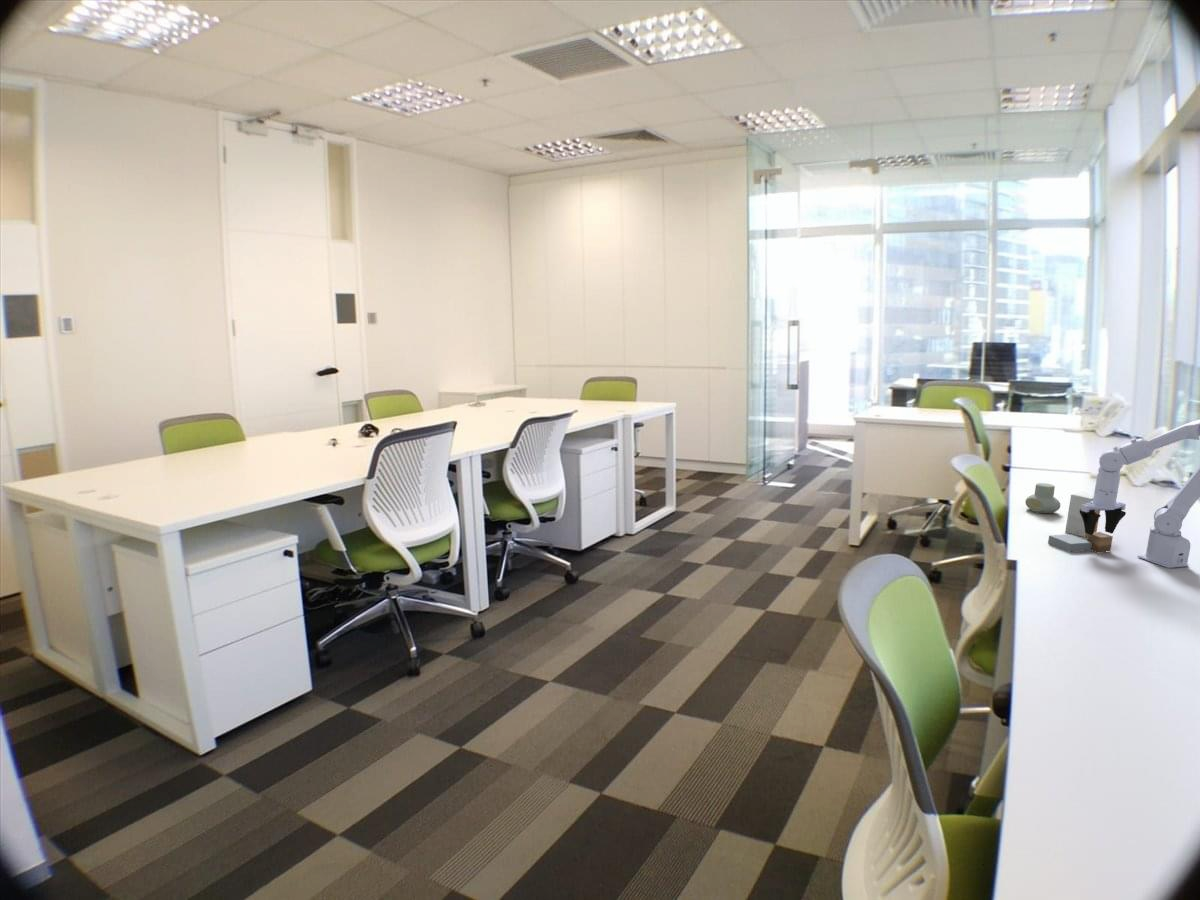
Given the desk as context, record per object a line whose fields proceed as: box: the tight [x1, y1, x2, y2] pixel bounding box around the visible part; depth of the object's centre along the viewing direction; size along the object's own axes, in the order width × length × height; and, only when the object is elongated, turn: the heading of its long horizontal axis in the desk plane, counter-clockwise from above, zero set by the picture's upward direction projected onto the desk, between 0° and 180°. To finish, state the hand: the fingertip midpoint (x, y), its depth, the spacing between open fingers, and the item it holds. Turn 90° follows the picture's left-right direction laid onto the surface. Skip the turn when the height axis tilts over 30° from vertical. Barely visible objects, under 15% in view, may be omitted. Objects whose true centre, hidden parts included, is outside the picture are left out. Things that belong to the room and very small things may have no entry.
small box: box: [1064, 491, 1101, 538], centre depth 239 cm, size 8×6×13 cm
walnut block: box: [1086, 531, 1113, 553], centre depth 223 cm, size 4×4×5 cm
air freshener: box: [1025, 482, 1061, 514], centre depth 264 cm, size 11×8×10 cm
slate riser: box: [1047, 533, 1092, 553], centre depth 226 cm, size 8×8×3 cm
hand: (1098, 533), depth 223 cm, fingers open, 7 cm apart
